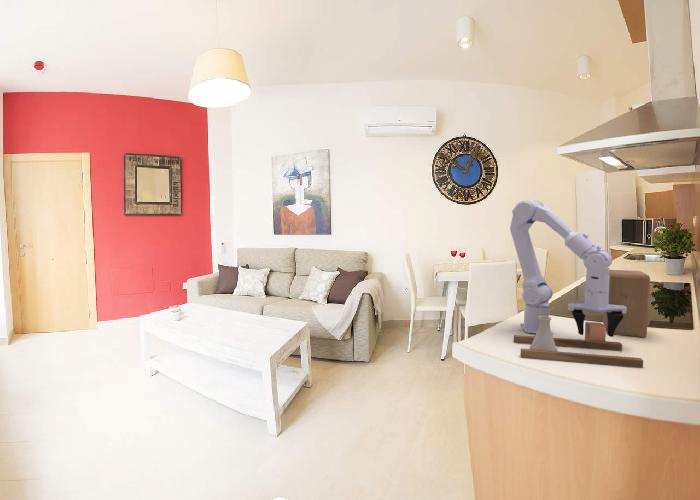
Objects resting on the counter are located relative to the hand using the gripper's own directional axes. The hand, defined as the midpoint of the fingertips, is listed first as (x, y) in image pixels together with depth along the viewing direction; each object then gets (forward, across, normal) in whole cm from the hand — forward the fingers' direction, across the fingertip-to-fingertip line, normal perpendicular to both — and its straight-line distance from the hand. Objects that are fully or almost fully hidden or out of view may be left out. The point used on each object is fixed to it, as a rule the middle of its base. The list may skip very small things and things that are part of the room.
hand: (595, 334), depth 104 cm
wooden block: (+3, +13, +14) cm, 19 cm away
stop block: (+3, 0, 0) cm, 3 cm away
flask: (+3, -16, -10) cm, 19 cm away
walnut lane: (+3, -9, -10) cm, 14 cm away
